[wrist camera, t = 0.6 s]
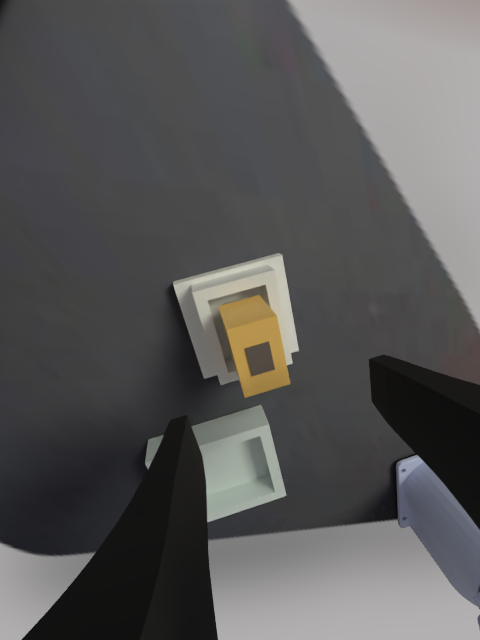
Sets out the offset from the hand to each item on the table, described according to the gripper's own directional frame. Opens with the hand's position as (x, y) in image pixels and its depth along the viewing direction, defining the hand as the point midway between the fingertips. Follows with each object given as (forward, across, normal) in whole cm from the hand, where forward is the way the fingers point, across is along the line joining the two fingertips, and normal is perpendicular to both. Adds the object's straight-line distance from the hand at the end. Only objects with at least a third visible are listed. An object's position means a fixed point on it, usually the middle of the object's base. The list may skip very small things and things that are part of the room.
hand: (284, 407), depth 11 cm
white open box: (+10, 0, 0) cm, 10 cm away
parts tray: (+10, +4, +12) cm, 16 cm away
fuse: (+9, 0, 0) cm, 9 cm away
